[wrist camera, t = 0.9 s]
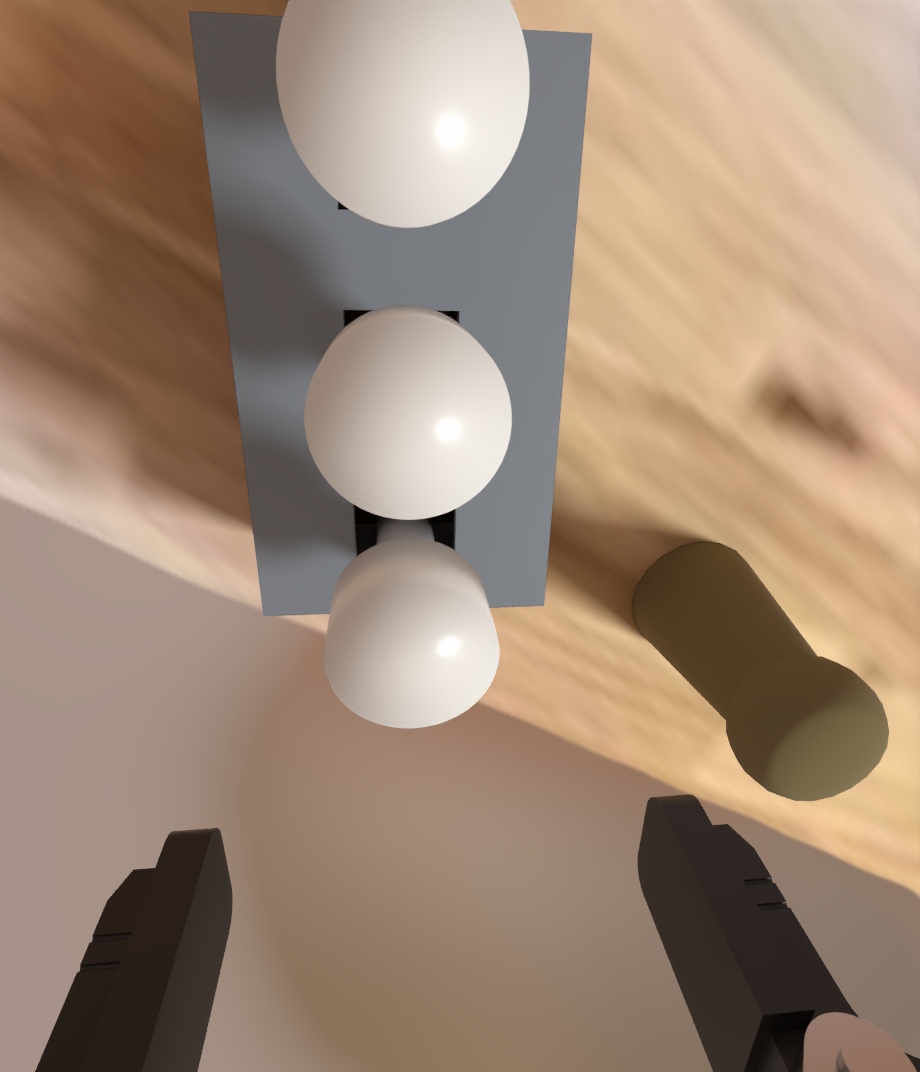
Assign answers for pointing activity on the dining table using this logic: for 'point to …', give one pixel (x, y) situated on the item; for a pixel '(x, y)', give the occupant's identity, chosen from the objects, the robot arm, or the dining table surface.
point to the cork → (760, 674)
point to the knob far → (410, 630)
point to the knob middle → (407, 413)
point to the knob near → (403, 101)
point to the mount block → (379, 281)
